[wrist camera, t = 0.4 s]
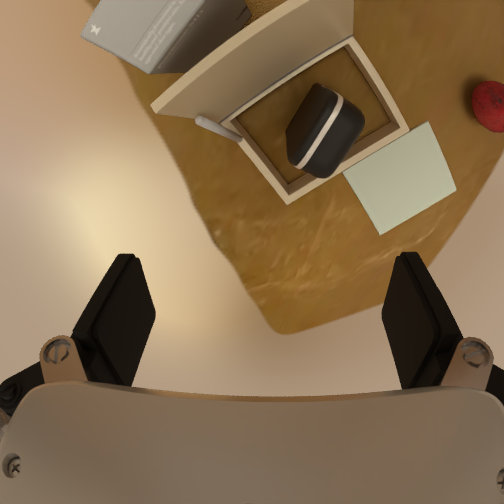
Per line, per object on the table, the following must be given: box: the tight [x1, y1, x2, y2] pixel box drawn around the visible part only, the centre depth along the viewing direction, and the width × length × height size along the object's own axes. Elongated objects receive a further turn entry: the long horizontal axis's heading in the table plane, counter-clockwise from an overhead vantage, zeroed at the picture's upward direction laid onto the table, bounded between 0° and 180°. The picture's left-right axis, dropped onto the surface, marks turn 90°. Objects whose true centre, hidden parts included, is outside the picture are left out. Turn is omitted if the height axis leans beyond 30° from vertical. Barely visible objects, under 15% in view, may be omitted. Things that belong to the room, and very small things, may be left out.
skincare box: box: [81, 0, 251, 74], centre depth 20 cm, size 8×7×16 cm
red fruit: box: [471, 81, 504, 133], centre depth 24 cm, size 6×6×8 cm
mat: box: [342, 121, 457, 235], centre depth 34 cm, size 12×10×1 cm
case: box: [151, 0, 410, 205], centre depth 25 cm, size 16×16×14 cm
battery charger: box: [286, 83, 365, 179], centre depth 27 cm, size 7×4×11 cm, turn 153°
